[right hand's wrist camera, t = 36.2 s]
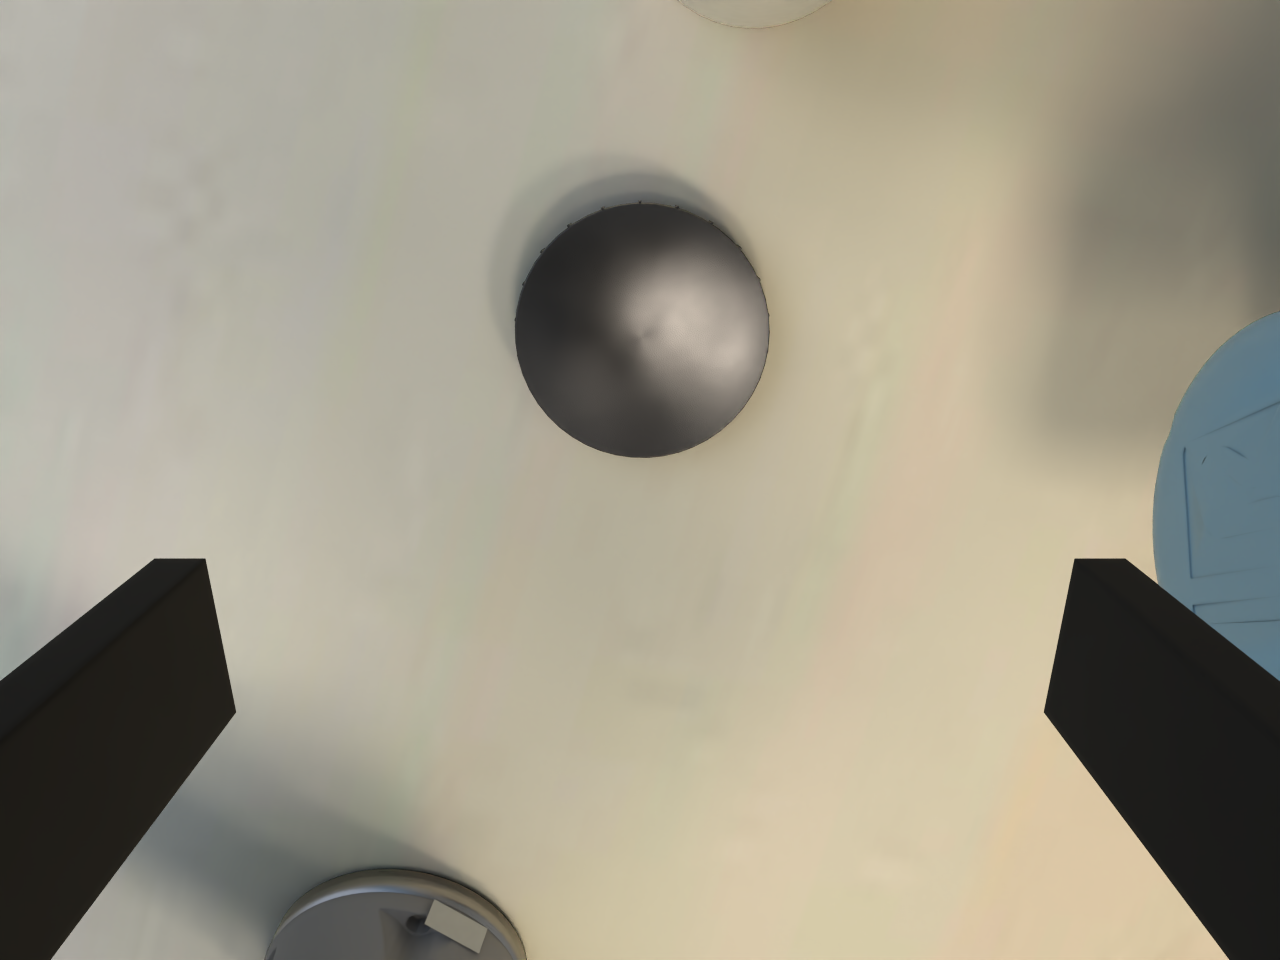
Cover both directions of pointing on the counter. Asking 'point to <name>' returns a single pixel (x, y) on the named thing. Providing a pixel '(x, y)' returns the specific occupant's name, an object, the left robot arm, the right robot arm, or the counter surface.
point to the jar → (754, 11)
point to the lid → (642, 330)
